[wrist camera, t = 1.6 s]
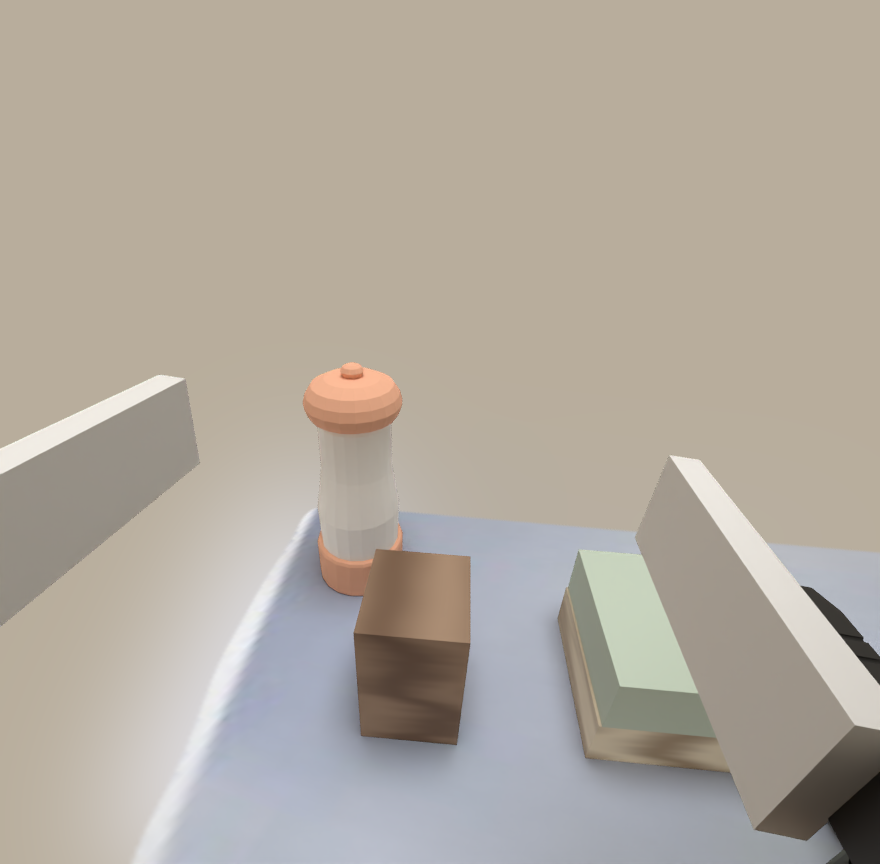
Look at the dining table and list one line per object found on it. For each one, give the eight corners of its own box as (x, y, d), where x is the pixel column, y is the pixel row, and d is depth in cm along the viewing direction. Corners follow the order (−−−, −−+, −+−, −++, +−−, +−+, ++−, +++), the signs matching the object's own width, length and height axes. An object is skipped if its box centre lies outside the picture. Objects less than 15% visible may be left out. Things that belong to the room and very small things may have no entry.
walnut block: (458, 654, 32) (470, 556, 27) (456, 744, 27) (470, 643, 22) (378, 647, 32) (375, 548, 27) (361, 735, 27) (353, 633, 22)
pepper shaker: (416, 550, 41) (422, 358, 32) (375, 609, 35) (368, 394, 26) (351, 527, 44) (339, 341, 34) (303, 577, 38) (273, 370, 28)
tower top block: (698, 598, 33) (717, 561, 31) (780, 743, 25) (813, 704, 23) (567, 587, 34) (578, 549, 32) (602, 726, 25) (620, 686, 23)
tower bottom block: (680, 632, 35) (697, 598, 33) (748, 777, 26) (776, 743, 25) (556, 621, 36) (566, 587, 34) (584, 760, 27) (598, 726, 25)
